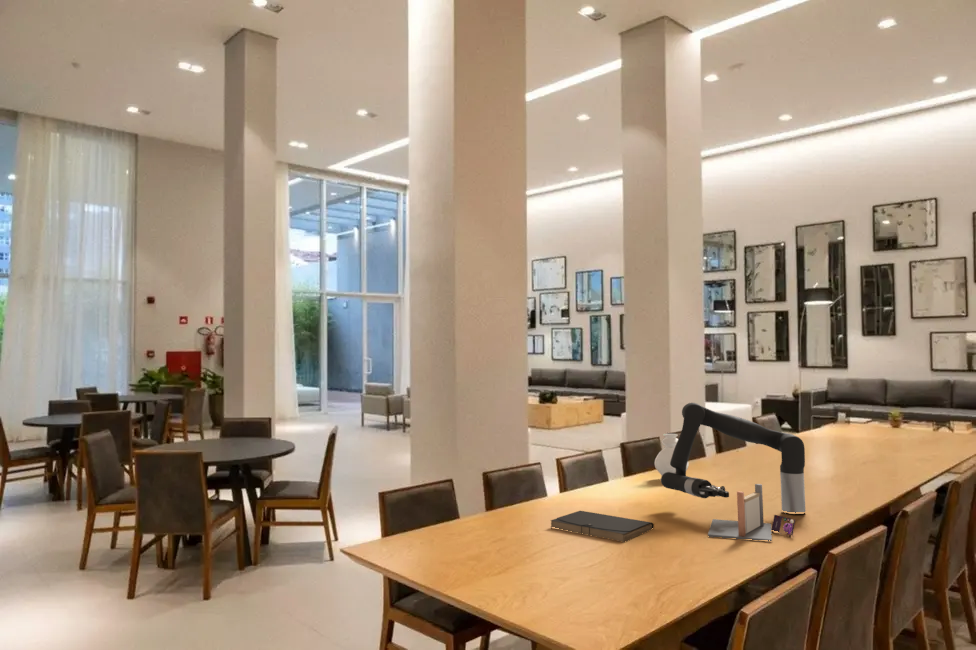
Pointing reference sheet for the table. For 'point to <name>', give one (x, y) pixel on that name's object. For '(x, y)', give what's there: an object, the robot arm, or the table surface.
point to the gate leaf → (752, 511)
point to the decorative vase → (666, 454)
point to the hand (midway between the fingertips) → (727, 494)
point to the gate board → (733, 530)
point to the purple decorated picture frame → (786, 527)
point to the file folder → (602, 525)
